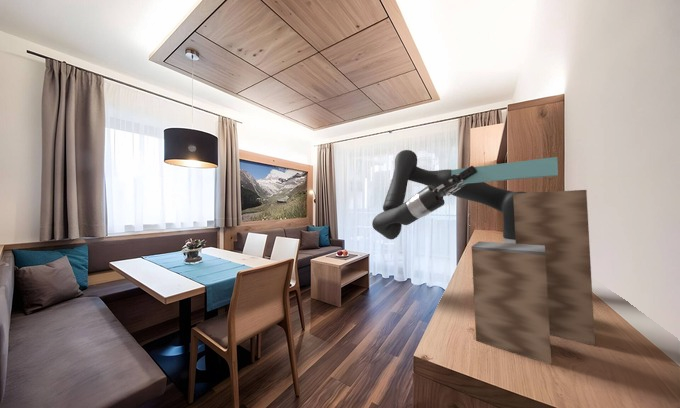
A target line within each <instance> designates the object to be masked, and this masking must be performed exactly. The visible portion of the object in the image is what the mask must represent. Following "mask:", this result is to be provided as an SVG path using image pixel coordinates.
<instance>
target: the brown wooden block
mask: <svg viewBox="0 0 680 408" xmlns="http://www.w3.org/2000/svg"><path fill="white" fill-rule="evenodd" d="M471 261H472V262H471V263H472V265H471V267H472V284H473V303H474V304H473V305H474V306H473V307H474V308H473V309H474V321H475V322H474V324H475V327H474V328H475V341H476V342H480V343H483V344H486V345H489V346H492V347H495V348H498V349H502V350H504V351H507V352H511V353H514V354H517V355H520V356H524V357H525V358H526V357H527V358H530V359H533V360H535V361H539V362H542V363H545V364H547V365H548V364H549V365H552V357H551V356H552V355H551V353H552V352H551V351H552V349H551V335H550V331H549V312H548V293H547V274H546V255H545V246H544V245H528V244H512V243H504V242H494V241H493V242H492V241H477V242H476V243H474V244H473V245H471Z"/></svg>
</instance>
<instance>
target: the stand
mask: <svg viewBox="0 0 680 408" xmlns="http://www.w3.org/2000/svg"><path fill="white" fill-rule="evenodd" d="M587 193H588V191H587V189H579V190H578V189H575V190H558V191H555V190H554V191H540V192H527V193H519V194H513V201H514V221H515V240H516V244H528V245H544V246H545V255H546V274H547V293H548V312H549V331H550V336H555V337H559V338H563V339H566V340H571V341H575V342H577V343H582V344H587V345H590V346H593V347H596V336H595V322H594V321H595V319H594V318H595V317H594V303H593V302H594V299H593V285H592V283H593V281H592V267H591V251H590V250H591V249H590V247H591V246H590V231H589V230H590V229H589V211H588V195H587Z"/></svg>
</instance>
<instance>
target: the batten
mask: <svg viewBox="0 0 680 408" xmlns="http://www.w3.org/2000/svg"><path fill="white" fill-rule="evenodd" d="M558 165H559V164H558V156H554V157H546V158H537V159H529V160H521V161H513V162H505V163H497V164H490V165H489V164H488V165H481V166H480V165H479V166H474V167H475V169H476V170H477V173H475V174H474V175H472V176H471V177H469V178H467V179H466V180H464V181H463V182H462V183H460V184H467V183H479V182H485V183H487V182H488V183H490V182H501V181H512V180H513V181H514V180H526V179H535V178H536V179H537V178H549V177H557V176H558V175H559V167H558ZM467 168H468V167H466V168H465V167H463V168H457V169H450V170H451V175H454V174H455V175H456V174H458V173H459V174H460V173H461V172H463V171H464V170H466V169H467Z"/></svg>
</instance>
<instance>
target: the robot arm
mask: <svg viewBox="0 0 680 408" xmlns="http://www.w3.org/2000/svg"><path fill="white" fill-rule="evenodd" d="M475 167H476V166H473V165H471V166H469V167H466V168H467V169H466V170H464V171H463V172H461V173H460V174H459V173H458V174H456V175H455V174H454V175H451V170H452V169H439V170H437V169H436V170H427V169H424V168H421V167H419V166H418V156H417V154H416V153H415V152H414V151H413V150H409V149H403V150H401V151H399V152H398V153H397V154H396V156H395V158H394V169H393V174H392V179H391V182H390V184H389V188H388V190H387V192H386V196H385V199H384V203H383V205H382V210H383V211H382V212H380V213H378V214H377V215H376V216H374V218H373V219H372V222H371V223H372V225H371V226H372V228H373V230H374V231H376V232H377V233H379V234H380V235H381V236H383V237H384V238H386V239H388V240H391V241H392V240H394V239H396V238H397V237H399V235H400V233H401V231H402V227H403V226H409V225H410V224H412V223H414V222H416V221H418V220H419V219H421V218H423V217H426V216H427V215H430V214H431V213H432V212H434V211H436V210H438V209H439V208H441V207H443V206H445V200H444V197H450V196H451V195H452V196H454V197H456V198H460V199H464V200H465V201H466V200H467V201H471V202H475V203H479V204H482V205H485V206H488V207H490V208H491V209H493V210H496V211H499V212H500V213H502V214H503V227H502V228H503V230H502V237H503V238H502V239H503V242H502V243H512V244H516V240H515V221H514V201H513V194H519V193H528V192H525V191H513V190H507V189H504V188H500V187H496V186H494V185H491V184H488V183H487V182H479V183H467V184H460V183H462V182H463V181H464V180H466V179H467V178H469V177H471V176H472V175H474V174H475V173H477V170H476V169H475ZM409 181H410V182H414V183H418V184H422V185H425V187H424V188H423V189H421V190H420V191H418V192H417V193H415V194H414V195H412V196H410V198H409V199H408V200H406V201H405V199H406V193H407V188H408V184H409V183H408V182H409ZM402 225H403V226H402Z"/></svg>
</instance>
